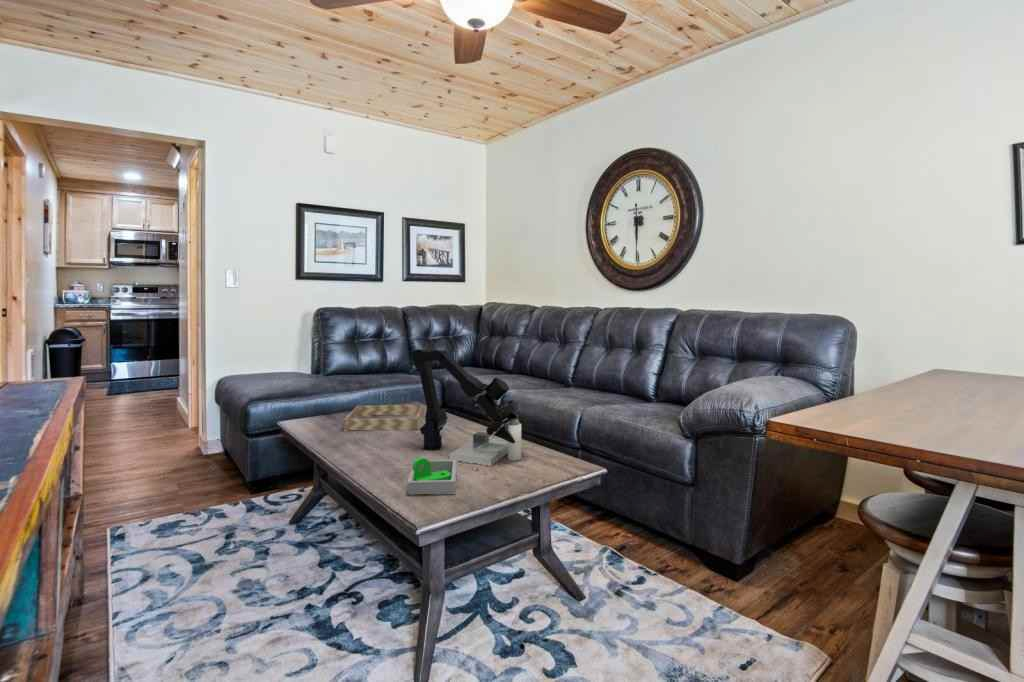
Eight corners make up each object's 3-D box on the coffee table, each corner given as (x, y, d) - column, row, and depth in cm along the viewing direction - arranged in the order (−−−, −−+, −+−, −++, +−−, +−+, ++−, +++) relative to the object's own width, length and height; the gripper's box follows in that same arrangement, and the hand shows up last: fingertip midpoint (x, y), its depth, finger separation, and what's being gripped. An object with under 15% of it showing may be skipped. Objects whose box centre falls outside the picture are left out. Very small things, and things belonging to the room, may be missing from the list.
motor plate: (449, 460, 194) (449, 445, 194) (476, 444, 214) (476, 430, 214) (490, 466, 188) (490, 451, 187) (514, 448, 208) (514, 435, 208)
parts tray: (407, 495, 161) (407, 482, 161) (414, 472, 182) (414, 460, 181) (455, 493, 163) (455, 481, 162) (456, 471, 183) (456, 459, 182)
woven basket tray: (343, 431, 233) (343, 420, 232) (357, 415, 261) (356, 405, 260) (418, 429, 235) (418, 418, 235) (423, 414, 264) (423, 404, 263)
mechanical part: (419, 488, 168) (419, 463, 167) (412, 482, 173) (412, 458, 172) (453, 481, 174) (453, 457, 174) (446, 475, 180) (446, 452, 179)
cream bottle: (508, 460, 194) (508, 422, 192) (507, 456, 199) (507, 418, 197) (521, 460, 194) (522, 421, 193) (520, 456, 199) (520, 418, 198)
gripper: (494, 399, 187) (523, 433, 184) (514, 389, 204) (541, 420, 201) (474, 418, 191) (502, 452, 188) (495, 408, 208) (521, 438, 205)
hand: (517, 440), depth 195 cm, fingers open, 7 cm apart
